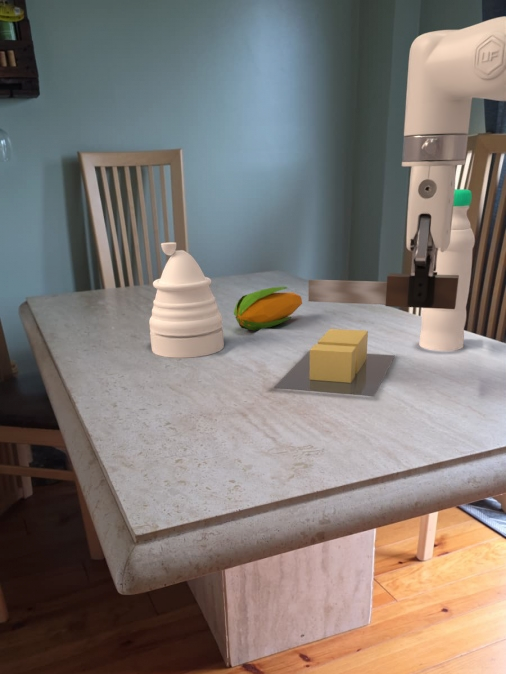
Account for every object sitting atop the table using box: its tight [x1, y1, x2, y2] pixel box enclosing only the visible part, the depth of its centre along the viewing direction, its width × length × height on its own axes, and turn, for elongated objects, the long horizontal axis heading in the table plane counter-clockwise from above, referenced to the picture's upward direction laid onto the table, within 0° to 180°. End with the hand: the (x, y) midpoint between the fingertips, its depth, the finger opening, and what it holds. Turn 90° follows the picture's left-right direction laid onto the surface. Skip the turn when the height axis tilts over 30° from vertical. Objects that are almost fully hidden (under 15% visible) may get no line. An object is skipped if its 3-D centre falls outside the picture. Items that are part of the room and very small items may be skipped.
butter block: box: [317, 328, 369, 374], centre depth 95 cm, size 6×8×4 cm
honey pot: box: [148, 241, 225, 359], centre depth 107 cm, size 13×13×18 cm
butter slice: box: [309, 343, 356, 383], centre depth 89 cm, size 6×3×4 cm, turn 71°
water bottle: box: [418, 188, 476, 352], centre depth 99 cm, size 7×7×25 cm
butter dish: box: [273, 350, 396, 397], centre depth 93 cm, size 14×20×1 cm
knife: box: [307, 272, 459, 309], centre depth 84 cm, size 20×2×4 cm, turn 71°
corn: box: [233, 286, 303, 331], centre depth 124 cm, size 7×8×20 cm
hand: (421, 303), depth 83 cm, fingers closed on knife, 2 cm apart
